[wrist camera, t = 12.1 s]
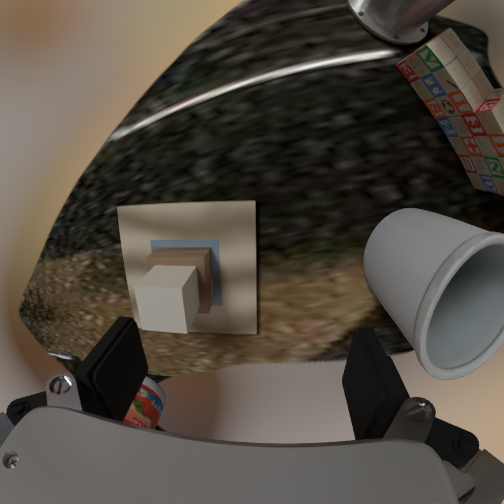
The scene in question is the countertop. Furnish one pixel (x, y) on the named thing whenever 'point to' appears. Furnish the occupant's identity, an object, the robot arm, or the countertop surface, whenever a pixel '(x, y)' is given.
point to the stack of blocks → (461, 106)
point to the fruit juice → (146, 405)
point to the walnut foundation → (189, 258)
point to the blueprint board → (199, 235)
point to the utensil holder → (440, 288)
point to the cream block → (168, 298)
